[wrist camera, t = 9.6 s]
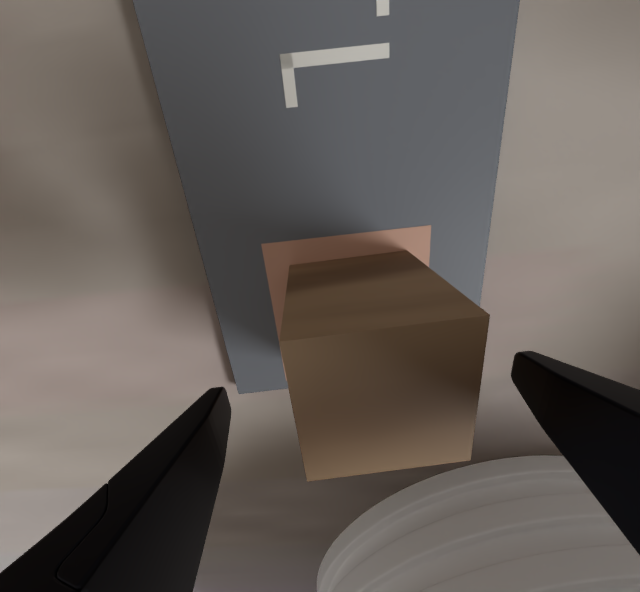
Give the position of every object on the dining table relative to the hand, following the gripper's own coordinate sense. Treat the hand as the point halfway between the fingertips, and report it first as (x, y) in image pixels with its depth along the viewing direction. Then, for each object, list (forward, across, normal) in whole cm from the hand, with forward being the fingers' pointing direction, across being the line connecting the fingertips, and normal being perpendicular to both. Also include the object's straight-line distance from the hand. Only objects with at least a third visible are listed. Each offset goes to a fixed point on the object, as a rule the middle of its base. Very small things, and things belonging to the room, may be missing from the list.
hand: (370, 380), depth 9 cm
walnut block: (+5, 0, 0) cm, 5 cm away
